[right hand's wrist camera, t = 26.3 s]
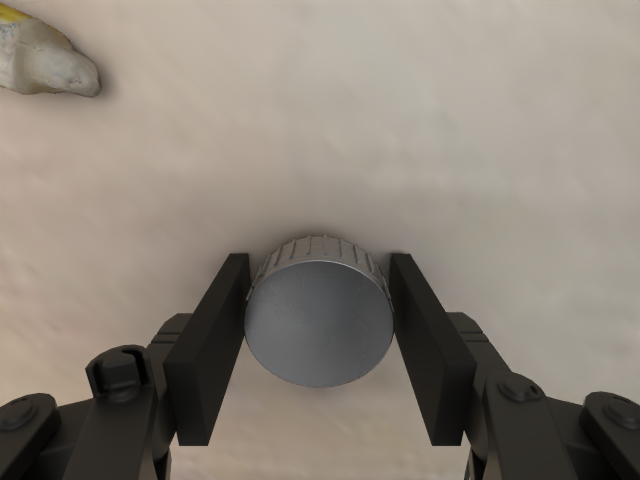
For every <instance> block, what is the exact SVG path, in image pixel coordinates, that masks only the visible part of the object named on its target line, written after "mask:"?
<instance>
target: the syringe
mask: <svg viewBox="0 0 640 480" xmlns="http://www.w3.org/2000/svg"><path fill="white" fill-rule="evenodd" d="M0 87H4V88H9V89H11V90H13V91H15V92H18V93H21V94H25V95H28V94H37V93H41V92H48V93H55V94H56V93H60V92H71V93H75V94H78V95H81V96H85V97H92V98H93V97H96V96H97V95H98V94H99V92H100V90H101V81H100V77H99V73H98V71H97V68H96V66H95V64H94V63H93V62H92V61H91V59H90V58H88V57H87V56H85V55H83V54H82V53H79V52H77V51H75V50H74V49H73V48H72V46H71V42H70V41H69V39H68V38H67V37H65V36H64V35H63V34H62V33H60V32H59V31H57V30H56V29H54V28H53V27H51V26H49V25H47V24H46V23H44V22H43V21H41V20H39V19H37V18H35V17H32V16H30V15H27V14H25V13H22V12H20V11H18V10H16V9H13V8H11V7H9V6H7V5H5V4H2V3H0Z"/></svg>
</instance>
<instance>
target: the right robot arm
mask: <svg viewBox="0 0 640 480" xmlns="http://www.w3.org/2000/svg"><path fill="white" fill-rule="evenodd" d="M250 288H251V282H250V270H249V258H248V254H230V255H229V256H228V258H227V259H226V261H225V263H224V264H223V266H222V267H221V269H220V271H219V272H218V274H217V276H216V277H215V279H214V280H213V282H212V284H211V285H210V287H209V289H208V290H207V292H206V293H205V295H204V297H203V298H202V300H201V302H200V303H199V305H198V306H197V308H196V310H195V311H194V313H177V314H176V315H175V316H173V317H172V318H170V319H169V320H168V321H166V322H165V323H164V324H163V326H162V327H161V328H160V330H159V331H158V333H157V335H155V337H154V338H153V339H152V341H151V344H149V345H148V346H147V348H146V349H145V348H144V347H143V346H139V345H123V346H119V347H116V348H112V349H110V350H108V351H106V352H103V353H101V354H100V355H98V356H97V357H96V358H94V359H93V360H92V361H91V362H90V363H89V364H88V366H87V367H86V368H85V370H86V374H87V377H88V380H89V383H90V387H91V390H92V393H93V396H94V397H93V398H91V399H88V400H85V401H80V402H76V403H72V404H68V405H63V406H59V407H57V404H56V401H55V398H53V397H52V396H51V395H50V394H44V393H36V394H30V395H26V396H23V397H20V398H17V399H15V400H12V401H11V402H9V403H7V404H5V405H3V406H2V407H0V480H170V471H171V461H172V460H171V453H170V448H169V446H170V444H171V441H172V439H173V437H174V435H175V432H177V437H178V442H179V446H208V444H209V441H210V438H211V435H212V432H213V429H214V426H215V422H216V419H217V416H218V413H219V410H220V407H221V404H222V401H223V398H224V395H225V392H226V389H227V386H228V383H229V380H230V377H231V374H232V371H233V368H234V365H235V362H236V359H237V356H238V353H239V350H240V347H241V344H242V341H243V338H244V335H245V334H244V328H243V315H244V310H245V306H246V304H247V302H246V298H247V295H248V293H249V291H250ZM389 293H390V296H391V298H392V299H390V300H391V303H392V306H393V309H394V313H393V314H394V333H395V336H396V339H397V342H398V345H399V348H400V351H401V354H402V357H403V360H404V363H405V366H406V369H407V372H408V375H409V378H410V381H411V384H412V387H413V390H414V393H415V396H416V399H417V402H418V405H419V408H420V411H421V414H422V417H423V420H424V423H425V426H426V429H427V432H428V435H429V438H430V441H431V444H432V446H461V441H462V437H463V432H464V431H465V433H466V435H467V438H468V440H469V442H470V444H471V448H470V453H469V457H468V462H467V466H466V471H465V477H464V480H469V478H470V480H640V405H638V404H636V403H634V402H633V401H631V400H629V399H627V398H624V397H621V396H619V395H616V394H613V393H607V392H592V393H590V394H589V395H588V396H586V398H585V401H584V403H583V405H579V404H574V403H570V402H566V401H561V400H557V399H553V398H550V397H547V396H546V395H545V394H544V392H543V390H542V389H541V388H540V387H539V386H538V385H537V384H535V383H534V382H533V381H532V380H530V379H528V378H526V377H524V376H522V375H520V374H517V373H514V372H512V371H511V370H510V368H509V367H508V366H507V364H506V363H505V362H504V360H503V359H502V357H501V356H500V355H499V353H498V352H497V351H496V349H495V348H494V346H493V345H492V344H491V342H489V340H488V338H487V337H486V335H485V334H483V331H482V330H481V329H480V327H479V326H478V324H477V323H476V322H475V321H474V320H473V319H471V318H470V317H468V316H467V315H466V314H464V313H463V312H445V310H444V308H443V307H442V305H441V303H440V302H439V300H438V299H437V297H436V295H435V294H434V292H433V290H432V289H431V287H430V286H429V284H428V282H427V281H426V279H425V277H424V276H423V274H422V273H421V271H420V269H419V268H418V266H417V265H416V263H415V261H414V260H413V258H412V256H411V255H410V254H392V256H391V268H390V280H389Z"/></svg>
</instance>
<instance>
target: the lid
mask: <svg viewBox="0 0 640 480" xmlns="http://www.w3.org/2000/svg"><path fill="white" fill-rule="evenodd" d="M390 299H392V298H391V296H390V293H389V290H388V287H387V284H386V281H385V278H384V276H382V275H381V272H380V269H379V266H378V264H375V263H374V262H373V261H372V259H371V258H370V255H369V254H368V253H365V252H363V251H362V250H361V249H359V248H358V247H357V245H356V244H354V245H352V244H351V243H348V242H346V241H343V239H342V238H340V239H336V238H331V237H327V235H324V237H311V235H309V236H308V237H307V238H302V239H298V240H296V239H293V240H292V242H290V243H288V244H286V245H284V246H279V248H278V250H277V251H275V252H274V253H273V254H272V255H270V254H269V255H268V256H267V259H266V261H265V263H264V264H263V266H260V267H259V269H258V272H257V274H256V276H255V279H254V281H253V283H252V286H251V288H250V291H249V293H248V295H247V298H246V302H247V304H246V306H245V310H244V315H243V328H244V334H245V338H246V341H247V344H248V346H249V348H250V350H251V352H252V353H253V355H254V356H255V358H256V359H257V360H258V361H259V362H260V363H261V364H262V365H263V366H264V367H265V368H266V369H267V370H268V371H270V372H271V373H272V374H274V375H276V376H277V377H279V378H281V379H283V380H286V381H288V382H291V383H294V384H297V385H302V386H307V387H333V386H338V385H342V384H346V383H349V382H351V381H354V380H356V379H358V378H360V377H362V376H363V375H365V374H367V373H368V372H369V371H371V370H372V369H373V368H374V367H375V366H376V365H377V364H378V363H379V362H380V361H381V360H382V358H383V357H384V356H385V354H386V352H387V351H388V349H389V347H390V344H391V342H392V338H393V334H394V314H393V313H394V309H393V306H392V303H391V300H390Z"/></svg>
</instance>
